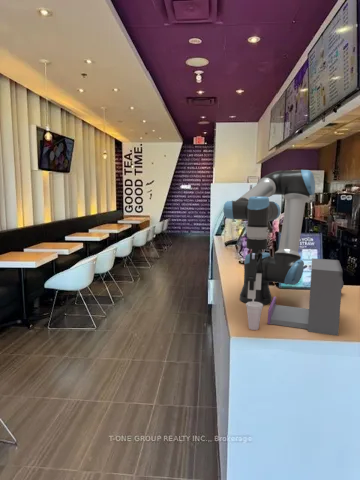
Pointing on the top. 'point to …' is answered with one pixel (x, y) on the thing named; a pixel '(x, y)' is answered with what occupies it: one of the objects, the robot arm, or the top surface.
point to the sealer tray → (288, 315)
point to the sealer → (325, 296)
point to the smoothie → (254, 314)
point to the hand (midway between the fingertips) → (254, 293)
